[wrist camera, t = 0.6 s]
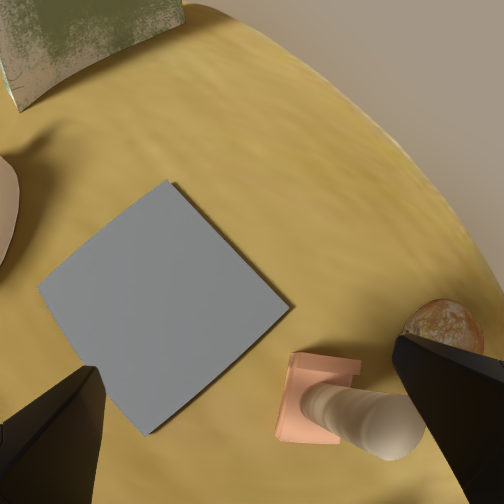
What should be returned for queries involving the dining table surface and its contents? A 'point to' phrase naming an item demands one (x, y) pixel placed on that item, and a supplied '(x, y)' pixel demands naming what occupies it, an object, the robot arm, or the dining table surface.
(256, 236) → the dining table surface
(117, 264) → the mat
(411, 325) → the bread roll
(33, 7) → the grocery bag
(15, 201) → the kettle
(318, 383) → the cylinder on pink base
